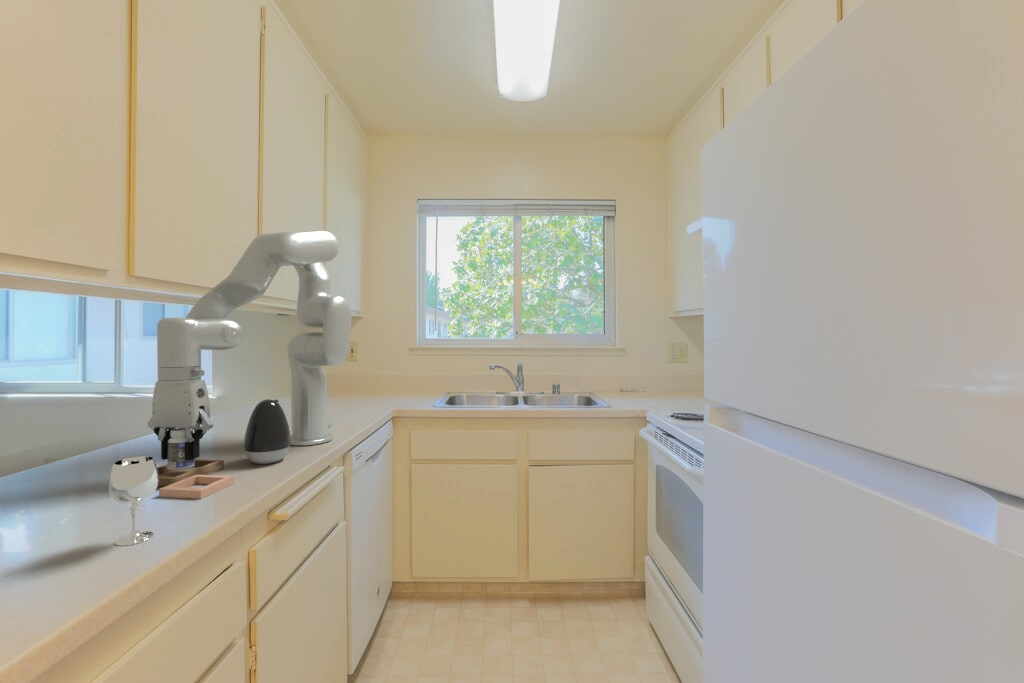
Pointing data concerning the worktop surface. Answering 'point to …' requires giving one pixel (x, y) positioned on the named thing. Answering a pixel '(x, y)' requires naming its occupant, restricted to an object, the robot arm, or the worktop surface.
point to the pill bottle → (178, 450)
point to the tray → (188, 471)
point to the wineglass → (133, 490)
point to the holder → (182, 491)
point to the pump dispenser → (267, 433)
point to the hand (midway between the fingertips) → (180, 457)
